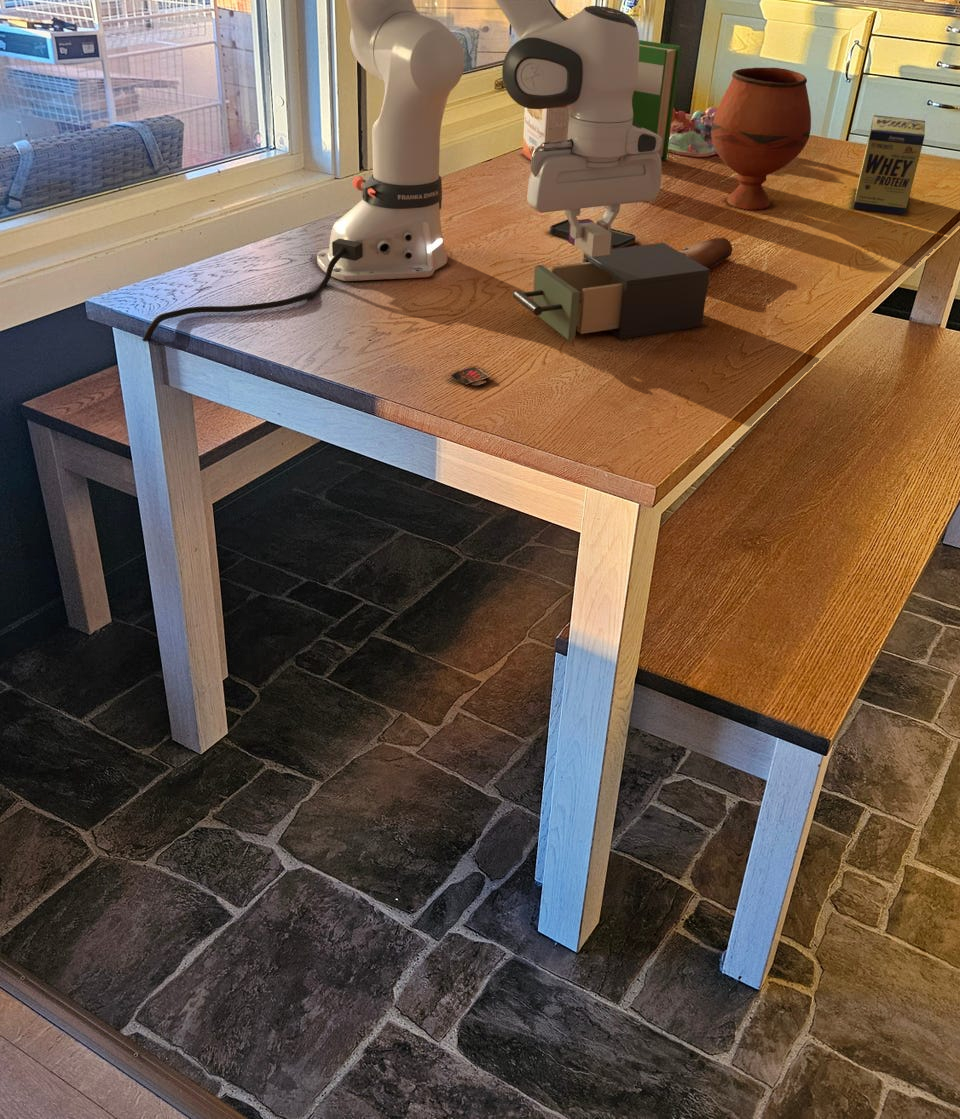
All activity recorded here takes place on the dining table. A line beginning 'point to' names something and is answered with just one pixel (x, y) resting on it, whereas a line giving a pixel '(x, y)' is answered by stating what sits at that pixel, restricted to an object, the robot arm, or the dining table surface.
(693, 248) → the sunglasses case
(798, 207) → the dining table surface
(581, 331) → the drawer
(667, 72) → the hardback book
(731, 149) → the goblet
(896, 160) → the protein box
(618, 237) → the phone
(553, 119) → the cracker box
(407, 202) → the robot arm
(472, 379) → the matchbox
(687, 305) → the black storage box
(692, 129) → the candy landscape model
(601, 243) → the beige rectangular block
